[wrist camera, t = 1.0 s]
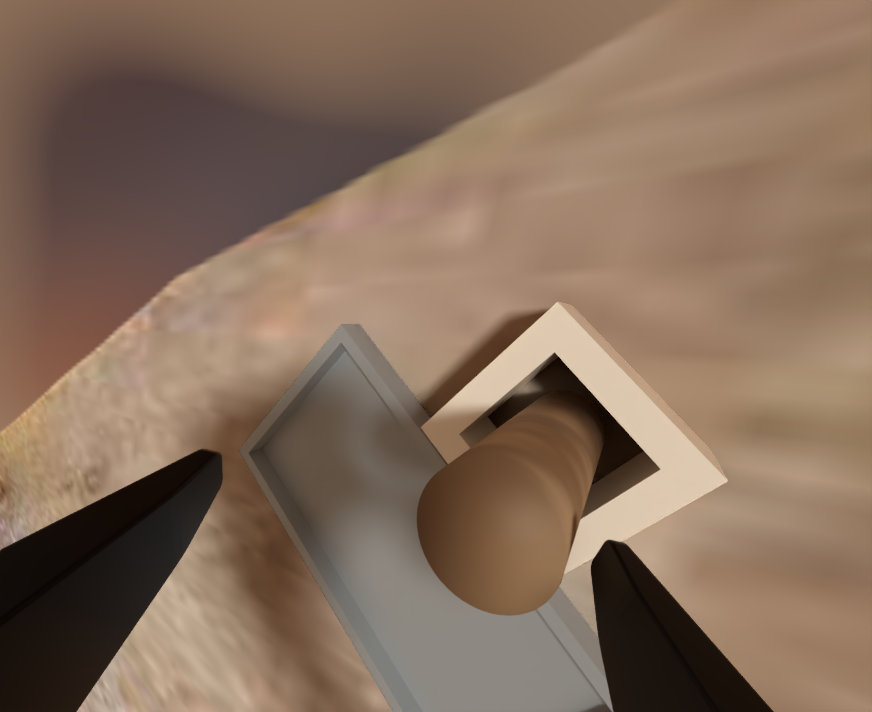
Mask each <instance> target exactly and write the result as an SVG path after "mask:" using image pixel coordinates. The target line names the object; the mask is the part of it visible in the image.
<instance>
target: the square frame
mask: <svg viewBox="0 0 872 712" xmlns="http://www.w3.org/2000/svg"><path fill="white" fill-rule="evenodd" d="M558 357H559V358H560V359H561V360H562V361H563V362H564V363H565V364H566V365H567V366H568V368H569V369H570V370H571V371H572V372H573V373H574V374H575V375H576V376H577V377H578V379H579V380H580V381H581V382H582V383H583V384H584V385H585V386H586V387H587V388H588V390H589V391H590V392H591V393H592V394H593V395H594V396H595V397H596V398H597V399H598V401H599V402H600V403H601V404H602V405H603V406H604V407H605V408H606V409H607V411H608V412H609V413H610V414H611V415H612V416H613V417H614V418H615V419H616V420H617V422H618V423H619V424H620V425H621V426H622V427H623V428H624V429H625V430H626V431H627V433H628V434H629V435H630V436H631V437H632V438H633V439H634V440H635V441H636V442H637V444H638V445H639V446H640V447H641V448H642V449H643V450H644V451H643V452H641V453H640V454H638V455H637V456H635V457H634V458H632V459H631V460H629V461H628V462H626V463H624V464H623V465H621V466H620V467H618V468H617V469H615V470H614V471H612V472H611V473H609V474H608V475H606V476H605V477H603V478H602V479H600V480H599V481H597V482H596V483H594V484H593V485H591V487H590V490H589V494H588V497H587V500H586V503H585V507H584V510H583V513H582V516H581V519H580V523H579V526H578V529H577V532H576V536H575V539H574V542H573V545H572V549H571V552H570V555H569V558H568V562H567V565H566V568H565V571H564V574H566V573H567V572H569V571H571V570H573V569H574V568H576V567H578V566H580V565H581V564H583V563H585V562H587V561H588V560H590V559H592V558H594V557H595V556H596V554H597V553H598V551H599V550H600V548H601V546H602V545H603V543H604V542H605V541H606V540H615V541H619V542H622V541H624V540H625V539H627V538H629V537H631V536H632V535H634V534H636V533H638V532H639V531H641V530H643V529H645V528H647V527H648V526H650V525H652V524H654V523H655V522H657V521H659V520H661V519H662V518H664V517H666V516H668V515H669V514H671V513H673V512H675V511H676V510H678V509H680V508H682V507H683V506H685V505H687V504H689V503H691V502H692V501H694V500H696V499H698V498H699V497H701V496H703V495H705V494H706V493H708V492H710V491H712V490H713V489H715V488H717V487H719V486H720V485H722V484H724V483H726V482H727V481H728V480H727V478H726V476H725V475H724V473H723V471H722V469H721V467H720V466H719V464H718V462H717V460H716V458H715V457H714V455H713V453H712V451H711V450H710V449H709V448H708V446H707V445H706V444H705V443H704V442H703V441H702V440H701V439H700V438H699V437H698V436H697V435H696V434H695V433H694V432H693V431H692V430H691V429H690V428H689V427H688V426H687V425H686V424H685V423H684V421H683V420H682V419H681V418H680V417H679V416H678V415H677V414H676V413H675V412H674V411H673V410H672V409H671V408H670V407H669V406H668V405H667V404H666V403H665V402H664V401H663V400H662V399H661V398H660V396H659V395H658V394H657V393H656V392H655V391H654V390H653V389H652V388H651V387H650V386H649V385H648V384H647V383H646V382H645V381H644V380H643V379H642V378H641V377H640V376H639V375H638V374H637V373H636V371H635V370H634V369H633V368H632V367H631V366H630V365H629V364H628V363H627V362H626V361H625V360H624V359H623V358H622V357H621V356H620V355H619V354H618V353H617V352H616V351H615V350H614V349H613V348H612V346H611V345H610V344H609V343H608V342H607V341H606V340H605V339H604V338H603V337H602V336H601V335H600V334H599V333H598V332H597V331H596V330H595V329H594V328H593V327H592V326H591V325H590V324H589V323H588V321H587V320H586V319H585V318H584V317H583V316H582V315H581V314H580V313H579V312H578V311H577V310H576V309H575V308H574V307H573V306H572V305H568V304H565V303H561V302H557V303H556V304H555V305H553V306H552V307H551V308H550V309H549V310H548V311H547V312H546V313H545V314H544V315H543V316H541V317H540V318H539V319H538V320H537V321H536V322H535V323H534V324H533V325H532V326H531V327H529V328H528V329H527V330H526V331H525V332H524V333H523V334H522V335H521V336H520V337H519V338H517V339H516V340H515V341H514V342H513V343H512V344H511V345H510V346H509V347H508V348H507V349H505V350H504V351H503V352H502V353H501V354H500V355H499V356H498V357H497V358H496V359H495V360H494V361H492V362H491V363H490V364H489V365H488V366H487V367H486V368H485V369H484V370H483V371H482V372H480V373H479V374H478V375H477V376H476V377H475V378H474V379H473V380H472V381H471V382H470V383H468V384H467V385H466V386H465V387H464V388H463V389H462V390H461V391H460V392H459V393H458V394H456V395H455V396H454V397H453V398H452V399H451V400H450V401H449V402H448V403H447V404H446V405H444V406H443V407H442V408H441V409H440V410H439V411H438V412H437V413H436V414H435V415H434V416H432V417H431V418H430V419H429V420H428V421H427V422H426V423H425V424H424V425H423V426H422V427H421V428H422V430H423V431H424V432H425V434H426V435H427V436H428V438H429V439H430V440H431V442H432V443H433V444H434V446H435V447H436V448H437V450H438V451H439V453H440V454H441V455H442V457H443V458H444V459H445V461H446V462H447V463H448V464H449V463H451V462H452V461H453V460H455V459H456V458H457V457H459V456H460V455H462V454H463V453H464V452H466V451H467V450H468V449H470V448H471V447H473V446H474V445H475V444H477V443H478V442H479V441H481V440H482V439H484V438H485V437H486V436H488V435H489V434H490V433H492V432H493V431H495V430H496V429H497V428H496V427H495V426H494V424H493V423H492V422H491V421H490V419H489V418H488V416H489V415H490V414H492V413H493V412H494V411H495V410H496V409H497V408H499V407H500V406H501V405H502V404H503V403H504V402H506V401H507V400H508V399H509V398H510V397H512V396H513V395H514V394H515V393H516V392H517V391H519V390H520V389H521V388H522V387H523V386H525V385H526V384H527V383H528V382H529V381H530V380H532V379H533V378H534V377H535V376H536V375H538V374H539V373H540V372H541V371H542V370H543V369H545V368H546V367H547V366H548V365H549V364H551V363H552V362H553V361H554V360H555V359H556V358H558Z"/></svg>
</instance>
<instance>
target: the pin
mask: <svg viewBox="0 0 872 712" xmlns="http://www.w3.org/2000/svg"><path fill="white" fill-rule="evenodd" d="M605 437H606V426H605V422H604V418H603V416H602V414H601V412H600V411H599V409H598V408H597V406H596V405H595V404H594V403H593V402H592V401H591V400H589V399H588V398H586V397H585V396H583V395H581V394H579V393H576V392H573V391H567V390H559V391H553V392H549V393H547V394H545V395H543V396H541V397H540V398H539V399H537V400H536V401H535V402H533V403H532V404H530V405H529V406H528V407H526V408H525V409H524V410H522V411H521V412H519V413H518V414H517V415H515V416H514V417H512V418H511V419H510V420H508V421H507V422H506V423H504V424H503V425H501V426H500V427H499V428H497V429H496V430H495V431H493V432H492V433H490V434H489V435H488V436H486V437H485V438H484V439H482V440H481V441H479V442H478V443H477V444H475V445H474V446H473V447H471V448H470V449H468V450H467V451H466V452H464V453H463V454H462V455H460V456H459V457H457V458H456V459H455V460H453V461H452V462H451V463H449V464H448V465H446V466H445V467H444V468H442V469H441V470H440V471H438V472H437V473H436V474H435V475H434V476H433V477H432V478H431V479H430V480H429V482H428V483H427V484H426V486H425V488H424V490H423V491H422V494H421V497H420V499H419V504H418V508H417V530H418V537H419V540H420V544H421V547H422V550H423V553H424V555H425V557H426V559H427V561H428V563H429V565H430V567H431V568H432V570H433V571H434V573H435V574H436V576H437V577H438V578H439V580H440V581H441V582H442V583H443V584H444V585H445V586H446V587H447V588H448V589H449V590H450V591H451V592H452V593H453V594H454V595H456V596H457V597H458V598H460V599H461V600H462V601H464V602H466V603H467V604H469V605H471V606H473V607H475V608H477V609H479V610H482V611H485V612H488V613H491V614H496V615H505V616H513V615H521V614H525V613H529V612H531V611H534V610H536V609H538V608H539V607H541V606H542V605H544V604H545V603H546V602H547V601H548V600H549V599H550V598H551V597H552V596H553V595H554V593H555V592H556V591H557V589H558V587H559V585H560V583H561V581H562V578H563V575H564V571H565V568H566V565H567V562H568V558H569V555H570V552H571V549H572V545H573V542H574V539H575V536H576V532H577V529H578V526H579V523H580V519H581V516H582V513H583V510H584V507H585V503H586V500H587V497H588V494H589V490H590V487H591V484H592V481H593V477H594V474H595V471H596V468H597V464H598V461H599V458H600V455H601V451H602V448H603V445H604V442H605Z"/></svg>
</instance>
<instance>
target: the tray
mask: <svg viewBox="0 0 872 712" xmlns="http://www.w3.org/2000/svg"><path fill="white" fill-rule="evenodd" d="M429 419H430V416H429V415H428V414H427V412H426V411H425V410H424V408H423V407H422V406H421V405H420V403H419V402H418V401H417V399H416V398H415V397H414V395H413V394H412V393H411V391H410V390H409V389H408V387H407V386H406V385H405V384H404V382H403V381H402V380H401V378H400V377H399V376H398V374H397V373H396V372H395V370H394V369H393V368H392V366H391V365H390V364H389V362H388V361H387V360H386V359H385V357H384V356H383V355H382V353H381V352H380V351H379V349H378V348H377V347H376V345H375V344H374V343H373V341H372V340H371V339H370V337H369V336H368V335H367V334H366V332H365V331H364V330H363V328H362V327H361V326H360V324H341V325H340V326H339V328H338V329H337V330H336V331H335V333H334V334H333V335H332V336H331V337H330V339H329V340H328V341H327V342H326V344H325V345H324V346H323V347H322V348H321V350H320V351H319V352H318V353H317V355H316V356H315V357H314V358H313V360H312V361H311V362H310V363H309V364H308V366H307V367H306V368H305V369H304V371H303V372H302V373H301V374H300V375H299V377H298V378H297V379H296V380H295V382H294V383H293V384H292V385H291V386H290V388H289V389H288V390H287V391H286V393H285V394H284V395H283V396H282V397H281V399H280V400H279V401H278V402H277V404H276V405H275V406H274V407H273V409H272V410H271V411H270V412H269V413H268V415H267V416H266V417H265V418H264V420H263V421H262V422H261V423H260V424H259V426H258V427H257V428H256V429H255V431H254V432H253V433H252V434H251V435H250V437H249V438H248V439H247V440H246V442H245V443H244V444H243V445H242V446H241V448H240V449H239V450H238V451H239V452H240V454H241V456H242V457H243V459H244V461H245V462H246V464H247V466H248V468H249V469H250V471H251V473H252V474H253V476H254V478H255V479H256V481H257V483H258V484H259V486H260V488H261V489H262V491H263V493H264V495H265V496H266V498H267V500H268V501H269V503H270V505H271V506H272V508H273V510H274V511H275V513H276V515H277V517H278V518H279V520H280V522H281V523H282V525H283V527H284V528H285V530H286V532H287V533H288V535H289V537H290V539H291V540H292V542H293V544H294V545H295V547H296V549H297V550H298V552H299V554H300V555H301V557H302V559H303V561H304V562H305V564H306V566H307V567H308V569H309V571H310V572H311V574H312V576H313V577H314V579H315V581H316V582H317V584H318V586H319V588H320V589H321V591H322V593H323V594H324V596H325V598H326V599H327V601H328V603H329V604H330V606H331V608H332V610H333V611H334V613H335V615H336V616H337V618H338V620H339V621H340V623H341V625H342V626H343V628H344V630H345V632H346V633H347V635H348V637H349V638H350V640H351V642H352V643H353V645H354V647H355V648H356V650H357V652H358V654H359V655H360V657H361V659H362V660H363V662H364V664H365V665H366V667H367V669H368V670H369V672H370V674H371V676H372V677H373V679H374V681H375V682H376V684H377V686H378V687H379V689H380V691H381V692H382V694H383V696H384V697H385V699H386V701H387V703H388V704H389V706H390V708H391V709H392V711H393V712H613V708H612V704H611V699H610V694H609V689H608V684H607V679H606V675H605V670H604V665H603V660H602V655H601V650H600V645H599V639H598V637H597V636H596V635H595V633H594V632H593V631H592V629H591V628H590V627H589V625H588V624H587V623H586V622H585V620H584V619H583V618H582V616H581V615H580V614H579V612H578V611H577V610H576V608H575V607H574V606H573V604H572V603H571V602H570V601H569V599H568V598H567V597H566V595H565V594H564V593H563V591H562V590H561V589H560V587H558V589H557V591H556V592H555V593H554V595H553V596H552V597H551V598H550V599H549V600H548V601H547V602H546V603H545V604H544V605H542V606H541V607H539V608H538V609H536V610H534V611H531V612H529V613H525V614H521V615H513V616H505V615H496V614H491V613H488V612H485V611H482V610H479V609H477V608H475V607H473V606H471V605H469V604H467V603H466V602H464V601H462V600H461V599H460V598H458V597H457V596H456V595H454V594H453V593H452V592H451V591H450V590H449V589H448V588H447V587H446V586H445V585H444V584H443V583H442V582H441V581H440V580H439V578H438V577H437V576H436V574H435V573H434V571H433V570H432V568H431V567H430V565H429V563H428V561H427V559H426V557H425V555H424V553H423V550H422V547H421V544H420V540H419V537H418V530H417V508H418V504H419V499H420V497H421V494H422V491H423V490H424V488H425V486H426V484H427V483H428V482H429V480H430V479H431V478H432V477H433V476H434V475H435V474H436V473H437V472H438V471H440V470H441V469H442V468H444V467H445V466H446V465H448V463H447V462H446V461H445V459H444V458H443V457H442V455H441V454H440V453H439V451H438V450H437V448H436V447H435V446H434V444H433V443H432V442H431V440H430V439H429V438H428V436H427V435H426V434H425V432H424V431H423V430H422V428H421V427H422V426H423V425H424V424H425V423H426V422H427V421H428V420H429Z"/></svg>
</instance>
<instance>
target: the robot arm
mask: <svg viewBox="0 0 872 712" xmlns="http://www.w3.org/2000/svg"><path fill="white" fill-rule="evenodd" d="M222 480H223V473H222V455H221V454H220V453H219V452H216V451H212V450H207V449H200V450H198V451H196V452H194V453H192V454H190V455H188V456H186V457H184V458H182V459H180V460H178V461H176V462H174V463H172V464H170V465H168V466H166V467H164V468H162V469H160V470H158V471H156V472H154V473H152V474H150V475H148V476H146V477H144V478H142V479H140V480H138V481H136V482H134V483H132V484H130V485H128V486H126V487H124V488H122V489H120V490H118V491H116V492H114V493H112V494H110V495H108V496H106V497H104V498H102V499H100V500H98V501H96V502H94V503H92V504H90V505H88V506H86V507H84V508H82V509H80V510H78V511H76V512H74V513H72V514H70V515H68V516H66V517H64V518H62V519H60V520H58V521H56V522H54V523H52V524H50V525H48V526H46V527H44V528H42V529H40V530H38V531H36V532H35V533H33V534H31V535H29V536H27V537H25V538H23V539H21V540H19V541H17V542H15V543H13V544H11V545H9V546H7V547H5V548H3V549H1V550H0V712H77V710H78V709H79V707H80V706H81V704H82V703H83V701H84V700H85V699H86V697H87V696H88V694H89V693H90V691H91V690H92V688H93V687H94V685H95V684H96V682H97V681H98V679H99V678H100V677H101V675H102V674H103V672H104V671H105V669H106V668H107V666H108V665H109V663H110V662H111V660H112V659H113V658H114V656H115V655H116V653H117V652H118V650H119V649H120V647H121V646H122V644H123V643H124V641H125V640H126V639H127V637H128V636H129V634H130V633H131V631H132V630H133V628H134V627H135V625H136V624H137V622H138V621H139V619H140V618H141V617H142V615H143V614H144V612H145V611H146V609H147V608H148V606H149V605H150V603H151V602H152V600H153V599H154V598H155V596H156V595H157V593H158V592H159V590H160V589H161V587H162V586H163V584H164V583H165V581H166V580H167V578H168V577H169V576H170V574H171V573H172V571H173V570H174V568H175V567H176V565H177V564H178V562H179V561H180V559H181V558H182V556H183V555H184V553H185V551H186V549H187V548H188V546H189V544H190V542H191V541H192V539H193V537H194V535H195V533H196V531H197V530H198V528H199V526H200V524H201V522H202V520H203V519H204V517H205V515H206V513H207V511H208V509H209V508H210V506H211V504H212V502H213V500H214V498H215V497H216V495H217V493H218V491H219V489H220V487H221V484H222ZM591 576H592V585H593V594H594V604H595V613H596V622H597V631H598V638H599V645H600V650H601V655H602V660H603V665H604V670H605V675H606V679H607V684H608V689H609V694H610V699H611V704H612V708H613V712H773V710H772V709H771V708H770V707H769V706H768V705H767V704H766V703H765V701H764V700H763V699H762V698H761V697H760V696H759V695H758V693H757V692H756V691H755V690H754V689H753V688H752V687H751V685H750V684H749V683H748V682H747V681H746V680H745V679H744V677H743V676H742V675H741V674H740V673H739V672H738V671H737V669H736V668H735V667H734V666H733V665H732V664H731V663H730V661H729V660H728V659H727V658H726V657H725V656H724V655H723V653H722V652H721V651H720V650H719V649H718V648H717V647H716V645H715V644H714V643H713V642H712V641H711V640H710V639H709V637H708V636H707V635H706V634H705V633H704V632H703V631H702V630H701V628H700V627H699V626H698V625H697V624H696V623H695V622H694V620H693V619H692V618H691V617H690V616H689V615H688V614H687V612H686V611H685V610H684V609H683V608H682V607H681V606H680V604H679V603H678V602H677V601H676V600H675V599H674V598H673V596H672V595H671V594H670V593H669V592H668V591H667V590H666V588H665V587H664V586H663V585H662V584H661V583H660V582H659V580H658V579H657V578H656V577H655V576H654V575H653V574H652V572H651V571H650V570H649V569H648V568H647V567H646V566H645V564H644V563H643V562H642V561H641V560H640V559H639V558H638V556H637V555H636V554H635V553H634V552H633V551H632V550H631V549H630V547H629V546H628V545H627V544H625V543H623V542H619V541H615V540H606V541H605V542H604V543H603V545H602V546H601V548H600V550H599V551H598V553H597V554H596V556H595V557H594V559H593V561H592V564H591Z"/></svg>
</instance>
